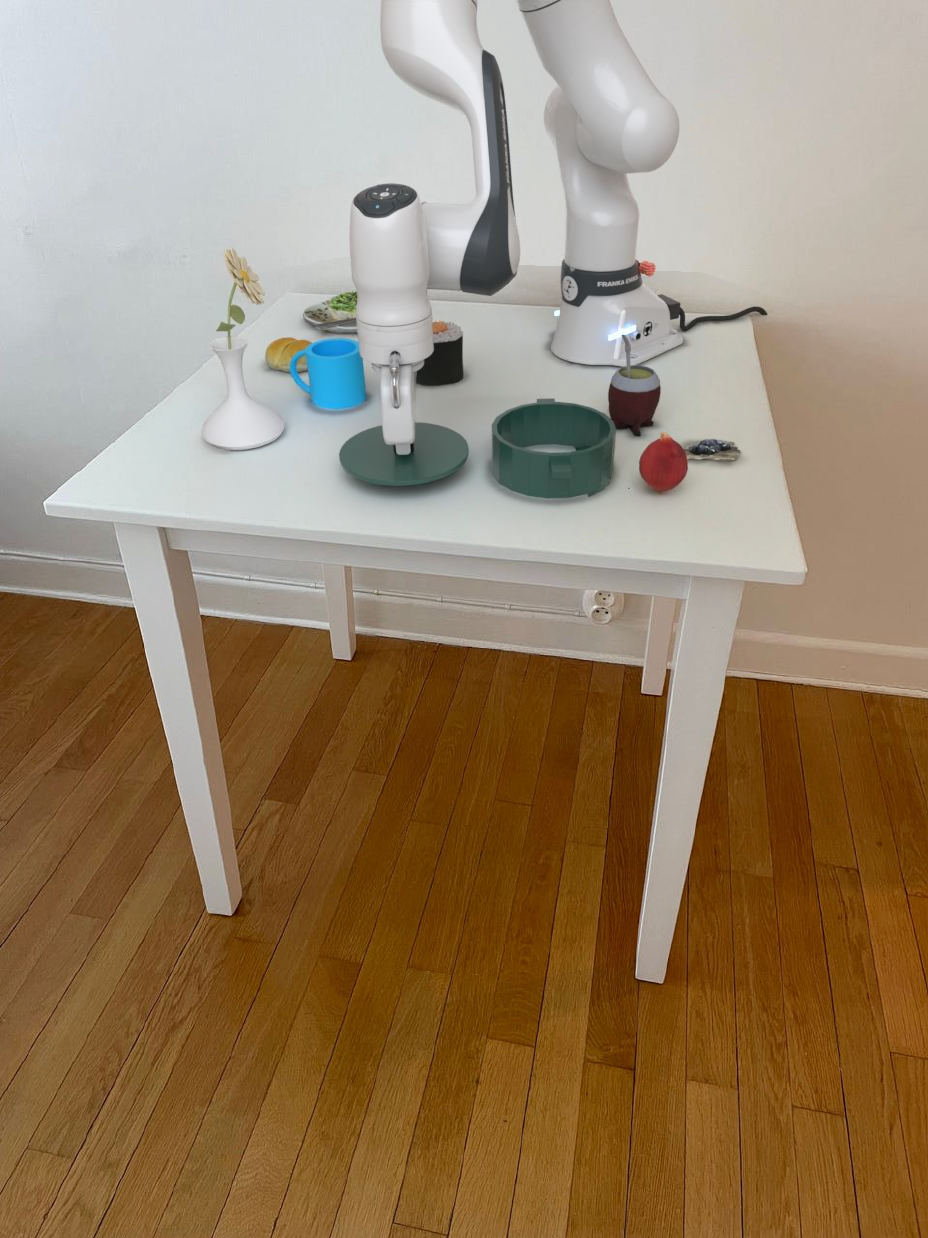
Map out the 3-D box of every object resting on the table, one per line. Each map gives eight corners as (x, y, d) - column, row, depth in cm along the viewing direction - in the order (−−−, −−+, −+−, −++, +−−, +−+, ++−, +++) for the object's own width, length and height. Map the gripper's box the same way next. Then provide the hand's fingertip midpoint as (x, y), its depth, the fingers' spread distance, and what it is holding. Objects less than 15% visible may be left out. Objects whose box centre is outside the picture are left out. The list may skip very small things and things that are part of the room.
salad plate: (351, 348, 160) (348, 320, 157) (278, 326, 169) (275, 300, 166) (425, 316, 172) (424, 290, 169) (354, 297, 181) (352, 273, 178)
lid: (466, 427, 128) (465, 394, 125) (471, 487, 115) (470, 452, 112) (344, 432, 128) (340, 399, 125) (335, 493, 114) (330, 458, 112)
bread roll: (288, 350, 159) (285, 327, 157) (330, 360, 155) (327, 336, 153) (254, 367, 154) (250, 342, 151) (296, 377, 150) (293, 353, 147)
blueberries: (746, 464, 123) (748, 451, 122) (685, 467, 123) (687, 454, 122) (730, 441, 129) (732, 428, 128) (672, 444, 128) (673, 431, 127)
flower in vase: (260, 463, 126) (229, 271, 112) (187, 451, 130) (147, 263, 115) (306, 423, 136) (283, 242, 121) (237, 413, 140) (206, 235, 125)
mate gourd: (647, 414, 136) (657, 309, 127) (665, 437, 130) (678, 329, 121) (596, 418, 135) (603, 314, 127) (613, 443, 129) (621, 334, 120)
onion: (682, 481, 120) (689, 423, 115) (685, 504, 115) (694, 444, 111) (635, 480, 121) (641, 421, 116) (637, 502, 116) (643, 442, 111)
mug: (376, 394, 144) (371, 342, 139) (350, 416, 138) (344, 361, 133) (307, 383, 148) (301, 332, 143) (279, 404, 142) (271, 351, 137)
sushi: (404, 370, 151) (401, 320, 147) (454, 363, 153) (452, 314, 149) (417, 389, 145) (415, 338, 140) (469, 381, 147) (468, 331, 142)
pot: (599, 435, 131) (603, 391, 127) (624, 511, 114) (628, 463, 111) (488, 438, 131) (488, 394, 127) (496, 515, 114) (496, 467, 110)
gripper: (422, 371, 103) (429, 483, 112) (422, 307, 120) (428, 409, 128) (364, 373, 103) (375, 486, 112) (372, 309, 120) (381, 411, 128)
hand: (403, 444), depth 120 cm, fingers closed on lid, 2 cm apart
